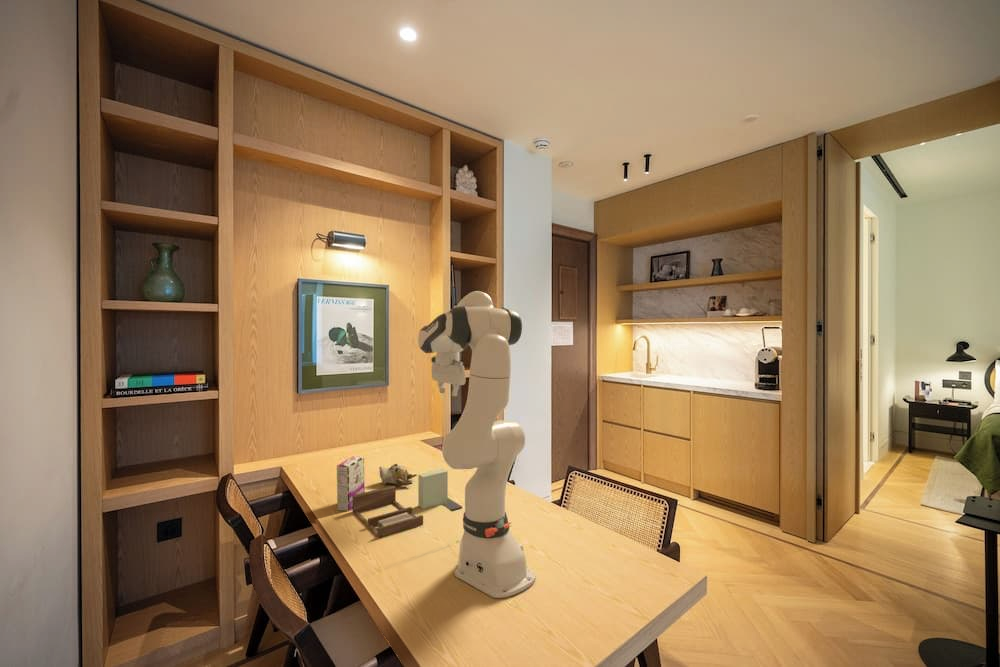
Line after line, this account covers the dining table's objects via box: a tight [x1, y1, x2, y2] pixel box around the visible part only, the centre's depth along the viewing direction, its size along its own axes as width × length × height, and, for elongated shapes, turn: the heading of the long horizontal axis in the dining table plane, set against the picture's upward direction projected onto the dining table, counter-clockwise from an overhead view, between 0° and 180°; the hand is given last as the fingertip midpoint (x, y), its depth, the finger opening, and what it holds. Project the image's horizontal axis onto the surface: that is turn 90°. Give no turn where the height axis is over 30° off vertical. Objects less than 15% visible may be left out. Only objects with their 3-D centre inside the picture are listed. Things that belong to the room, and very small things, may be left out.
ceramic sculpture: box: [379, 463, 418, 487], centre depth 179 cm, size 11×9×15 cm
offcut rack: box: [352, 485, 424, 539], centre depth 144 cm, size 24×15×7 cm, turn 38°
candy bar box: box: [336, 455, 366, 512], centre depth 157 cm, size 11×5×16 cm, turn 168°
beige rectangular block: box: [417, 468, 449, 510], centre depth 155 cm, size 4×10×12 cm, turn 128°
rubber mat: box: [442, 497, 463, 512], centre depth 156 cm, size 14×16×1 cm
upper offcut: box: [377, 512, 413, 528], centre depth 138 cm, size 6×10×2 cm, turn 129°
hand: (448, 394), depth 168 cm, fingers open, 8 cm apart
